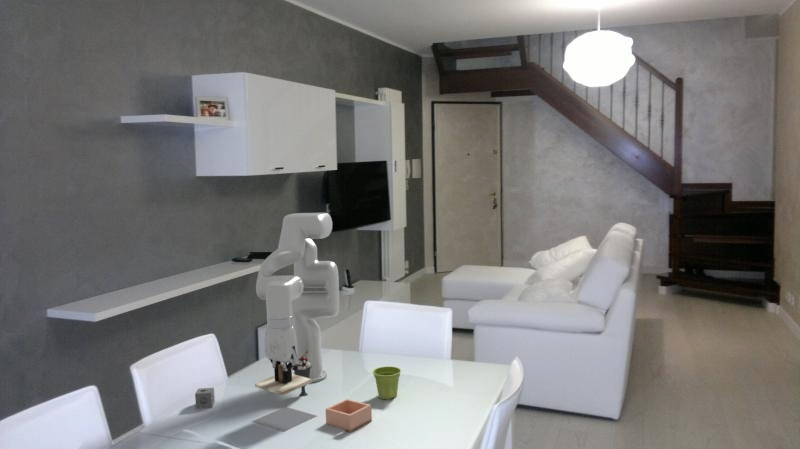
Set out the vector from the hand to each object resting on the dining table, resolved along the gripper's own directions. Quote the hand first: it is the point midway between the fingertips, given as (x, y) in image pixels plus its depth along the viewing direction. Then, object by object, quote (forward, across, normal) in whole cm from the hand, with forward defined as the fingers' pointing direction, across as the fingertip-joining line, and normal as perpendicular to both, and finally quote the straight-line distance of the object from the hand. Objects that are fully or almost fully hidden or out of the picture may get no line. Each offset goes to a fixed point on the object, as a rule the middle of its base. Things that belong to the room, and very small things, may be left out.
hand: (283, 380), depth 198 cm
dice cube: (+13, -31, -6) cm, 34 cm away
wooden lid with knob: (+1, 0, 0) cm, 1 cm away
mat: (+12, +1, -1) cm, 12 cm away
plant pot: (+13, +15, +32) cm, 38 cm away
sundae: (+13, -9, +17) cm, 23 cm away
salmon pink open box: (+12, +19, +8) cm, 24 cm away
